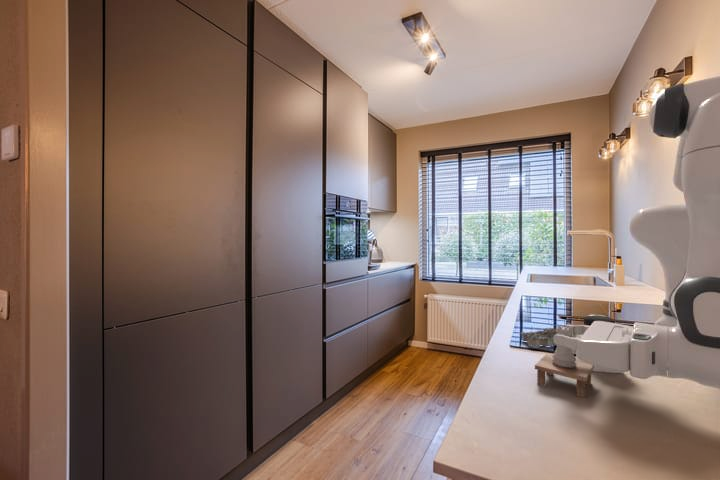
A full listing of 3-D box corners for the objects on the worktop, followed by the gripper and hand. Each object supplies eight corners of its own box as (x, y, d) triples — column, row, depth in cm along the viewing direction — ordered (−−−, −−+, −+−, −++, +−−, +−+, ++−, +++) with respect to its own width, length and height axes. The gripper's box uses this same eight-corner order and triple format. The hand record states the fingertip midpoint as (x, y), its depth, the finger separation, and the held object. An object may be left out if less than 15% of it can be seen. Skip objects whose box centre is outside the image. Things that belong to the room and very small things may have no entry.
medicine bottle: (624, 374, 75) (625, 321, 75) (589, 371, 76) (589, 319, 76) (607, 362, 82) (608, 313, 82) (575, 360, 83) (576, 312, 83)
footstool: (546, 371, 76) (546, 354, 76) (593, 383, 70) (593, 364, 70) (534, 384, 70) (534, 365, 70) (586, 398, 64) (586, 377, 64)
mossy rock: (555, 341, 99) (555, 327, 99) (569, 349, 92) (569, 335, 92) (518, 340, 100) (518, 326, 100) (529, 348, 93) (529, 334, 92)
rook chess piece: (582, 367, 68) (582, 328, 68) (564, 369, 67) (564, 330, 67) (563, 359, 73) (564, 323, 73) (546, 361, 72) (547, 324, 72)
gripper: (648, 320, 69) (570, 310, 78) (643, 344, 54) (547, 328, 63) (648, 350, 69) (570, 337, 78) (643, 383, 54) (547, 361, 63)
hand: (559, 333), depth 70 cm, fingers open, 8 cm apart
